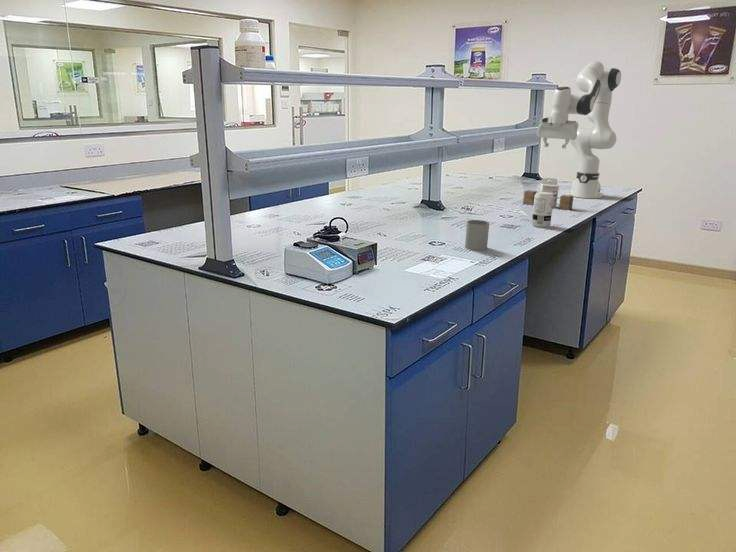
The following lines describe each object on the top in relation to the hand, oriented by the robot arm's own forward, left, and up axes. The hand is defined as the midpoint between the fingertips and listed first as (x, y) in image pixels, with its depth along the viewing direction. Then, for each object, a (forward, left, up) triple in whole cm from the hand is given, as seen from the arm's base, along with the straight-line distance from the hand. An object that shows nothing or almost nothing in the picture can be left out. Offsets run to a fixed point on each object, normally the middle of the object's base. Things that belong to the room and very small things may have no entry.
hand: (555, 147), depth 296 cm
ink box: (+1, 0, -31) cm, 31 cm away
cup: (+105, +15, -31) cm, 110 cm away
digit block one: (+1, +10, -31) cm, 32 cm away
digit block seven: (+1, -10, -31) cm, 33 cm away
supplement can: (+49, +17, -31) cm, 60 cm away
